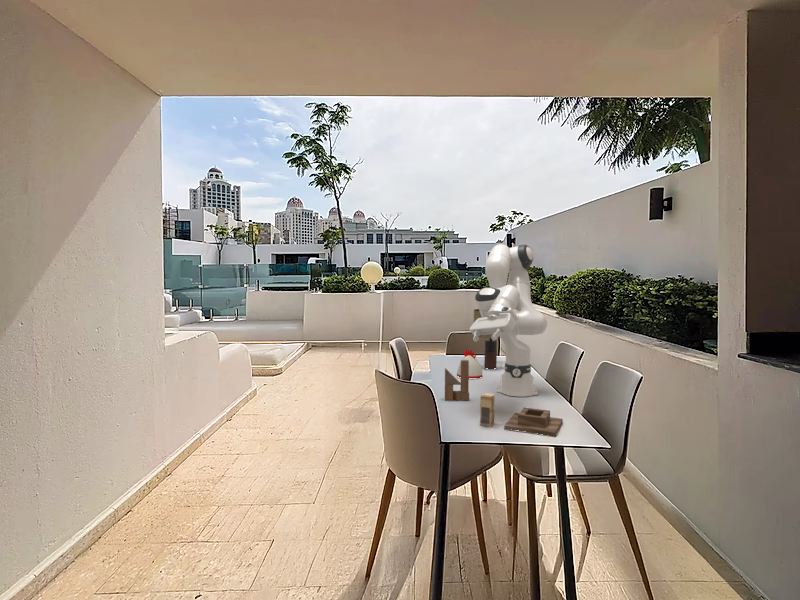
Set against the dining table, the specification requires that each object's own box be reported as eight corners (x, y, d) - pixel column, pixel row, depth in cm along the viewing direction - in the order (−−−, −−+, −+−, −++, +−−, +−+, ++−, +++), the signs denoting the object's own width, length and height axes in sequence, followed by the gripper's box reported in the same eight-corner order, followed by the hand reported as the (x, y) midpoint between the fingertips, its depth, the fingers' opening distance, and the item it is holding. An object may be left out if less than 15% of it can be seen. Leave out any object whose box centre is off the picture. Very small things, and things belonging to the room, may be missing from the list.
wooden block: (444, 398, 222) (444, 359, 221) (468, 398, 222) (468, 359, 221) (445, 400, 219) (445, 360, 218) (469, 400, 219) (469, 360, 218)
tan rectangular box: (484, 421, 189) (484, 393, 188) (494, 422, 187) (494, 394, 186) (480, 425, 184) (480, 396, 183) (490, 426, 182) (490, 397, 182)
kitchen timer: (466, 373, 279) (467, 346, 278) (487, 376, 269) (487, 349, 268) (451, 376, 269) (452, 349, 268) (472, 380, 259) (472, 352, 258)
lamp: (483, 364, 304) (484, 308, 302) (513, 368, 292) (514, 309, 290) (466, 369, 289) (467, 310, 287) (497, 373, 276) (498, 312, 274)
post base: (515, 416, 195) (515, 404, 195) (562, 422, 187) (562, 409, 187) (504, 429, 179) (504, 416, 179) (555, 436, 171) (555, 422, 171)
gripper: (475, 312, 209) (460, 335, 201) (514, 307, 193) (499, 331, 186) (482, 323, 211) (468, 346, 203) (521, 318, 195) (508, 343, 188)
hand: (483, 339), depth 194 cm, fingers open, 8 cm apart
